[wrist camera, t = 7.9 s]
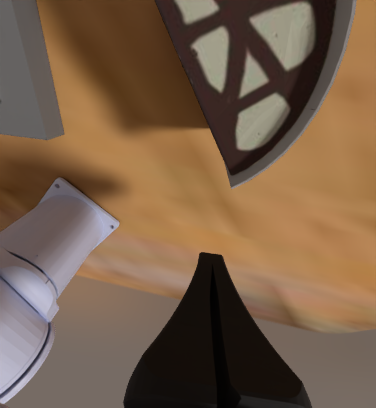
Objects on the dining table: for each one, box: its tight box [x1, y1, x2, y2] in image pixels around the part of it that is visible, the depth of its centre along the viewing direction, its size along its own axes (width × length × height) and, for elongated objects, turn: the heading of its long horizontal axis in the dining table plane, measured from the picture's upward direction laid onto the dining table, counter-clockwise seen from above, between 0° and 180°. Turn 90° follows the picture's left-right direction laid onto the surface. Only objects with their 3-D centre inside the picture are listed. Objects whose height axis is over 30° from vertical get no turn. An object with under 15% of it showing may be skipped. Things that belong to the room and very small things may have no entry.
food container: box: [155, 0, 356, 189], centre depth 10 cm, size 12×6×10 cm, turn 27°
